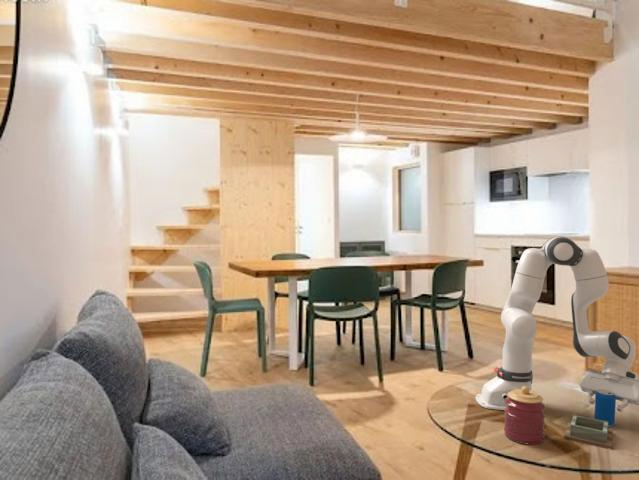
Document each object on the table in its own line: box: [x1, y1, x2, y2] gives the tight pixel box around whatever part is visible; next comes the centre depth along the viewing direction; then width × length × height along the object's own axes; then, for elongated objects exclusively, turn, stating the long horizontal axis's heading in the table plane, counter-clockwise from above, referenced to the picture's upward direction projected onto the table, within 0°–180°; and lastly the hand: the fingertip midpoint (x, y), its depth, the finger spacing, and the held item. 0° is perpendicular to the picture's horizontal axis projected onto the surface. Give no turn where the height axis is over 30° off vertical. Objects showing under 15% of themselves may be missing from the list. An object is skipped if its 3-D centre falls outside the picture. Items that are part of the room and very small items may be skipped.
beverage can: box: [594, 389, 617, 428], centre depth 181 cm, size 6×6×12 cm
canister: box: [503, 386, 547, 445], centre depth 170 cm, size 13×13×18 cm
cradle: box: [564, 414, 614, 450], centre depth 171 cm, size 14×14×4 cm
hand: (605, 406), depth 181 cm, fingers open, 8 cm apart
